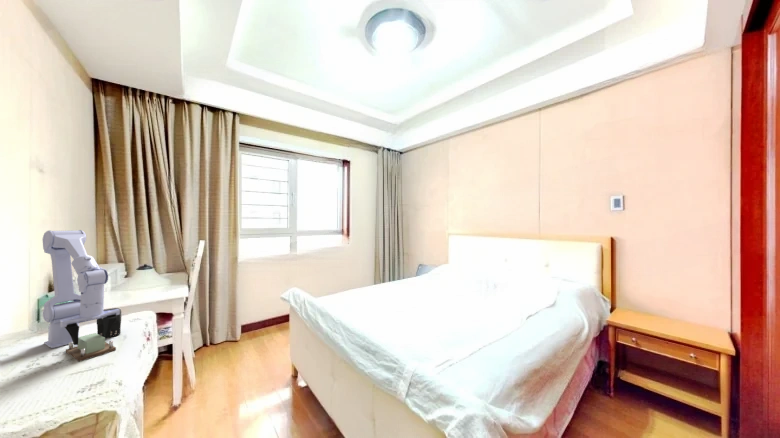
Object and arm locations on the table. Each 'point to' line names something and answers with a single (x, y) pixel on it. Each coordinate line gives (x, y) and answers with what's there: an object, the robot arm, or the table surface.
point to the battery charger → (115, 327)
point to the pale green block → (91, 343)
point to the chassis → (82, 355)
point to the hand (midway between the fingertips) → (91, 340)
